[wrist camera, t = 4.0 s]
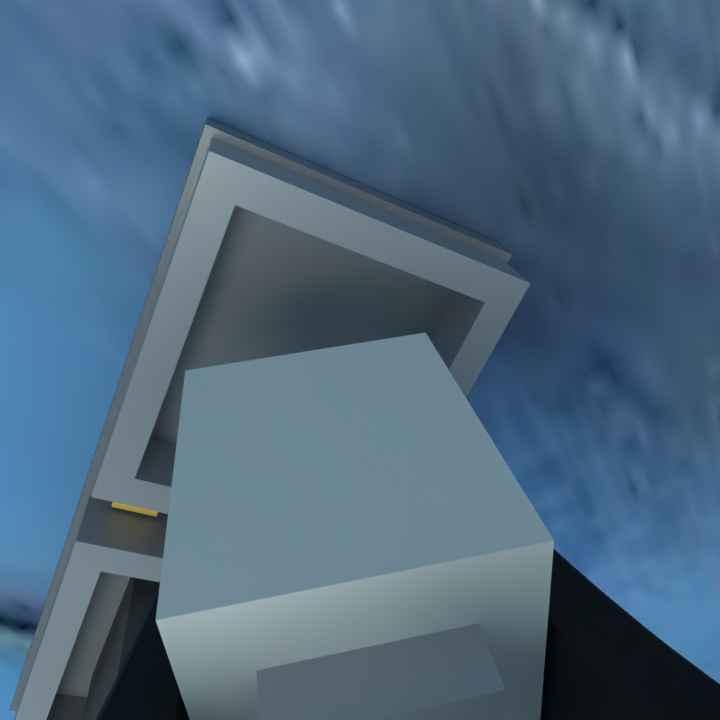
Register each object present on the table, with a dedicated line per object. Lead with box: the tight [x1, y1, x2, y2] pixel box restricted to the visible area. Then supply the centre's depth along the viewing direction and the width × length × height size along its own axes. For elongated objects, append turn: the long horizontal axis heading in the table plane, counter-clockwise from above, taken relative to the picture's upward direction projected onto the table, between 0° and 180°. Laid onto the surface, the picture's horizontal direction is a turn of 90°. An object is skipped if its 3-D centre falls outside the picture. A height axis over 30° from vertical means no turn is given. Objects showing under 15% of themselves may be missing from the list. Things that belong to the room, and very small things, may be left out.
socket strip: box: [10, 118, 531, 720], centre depth 18 cm, size 8×19×3 cm, turn 155°
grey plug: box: [156, 333, 554, 720], centre depth 9 cm, size 4×5×6 cm
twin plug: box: [83, 577, 160, 720], centre depth 18 cm, size 4×5×6 cm
